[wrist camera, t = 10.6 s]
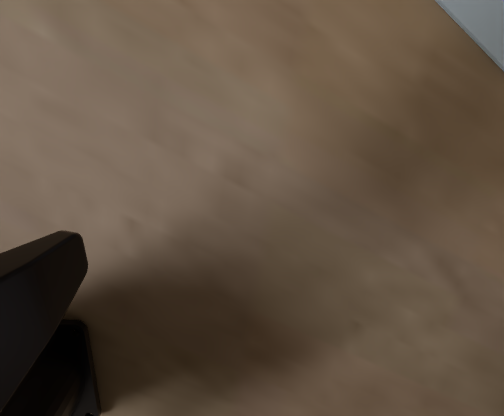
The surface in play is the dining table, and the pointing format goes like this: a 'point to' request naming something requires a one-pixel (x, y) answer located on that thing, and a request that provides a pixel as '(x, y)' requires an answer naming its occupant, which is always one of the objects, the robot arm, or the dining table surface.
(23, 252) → the robot arm
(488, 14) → the mat
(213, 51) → the dining table surface
